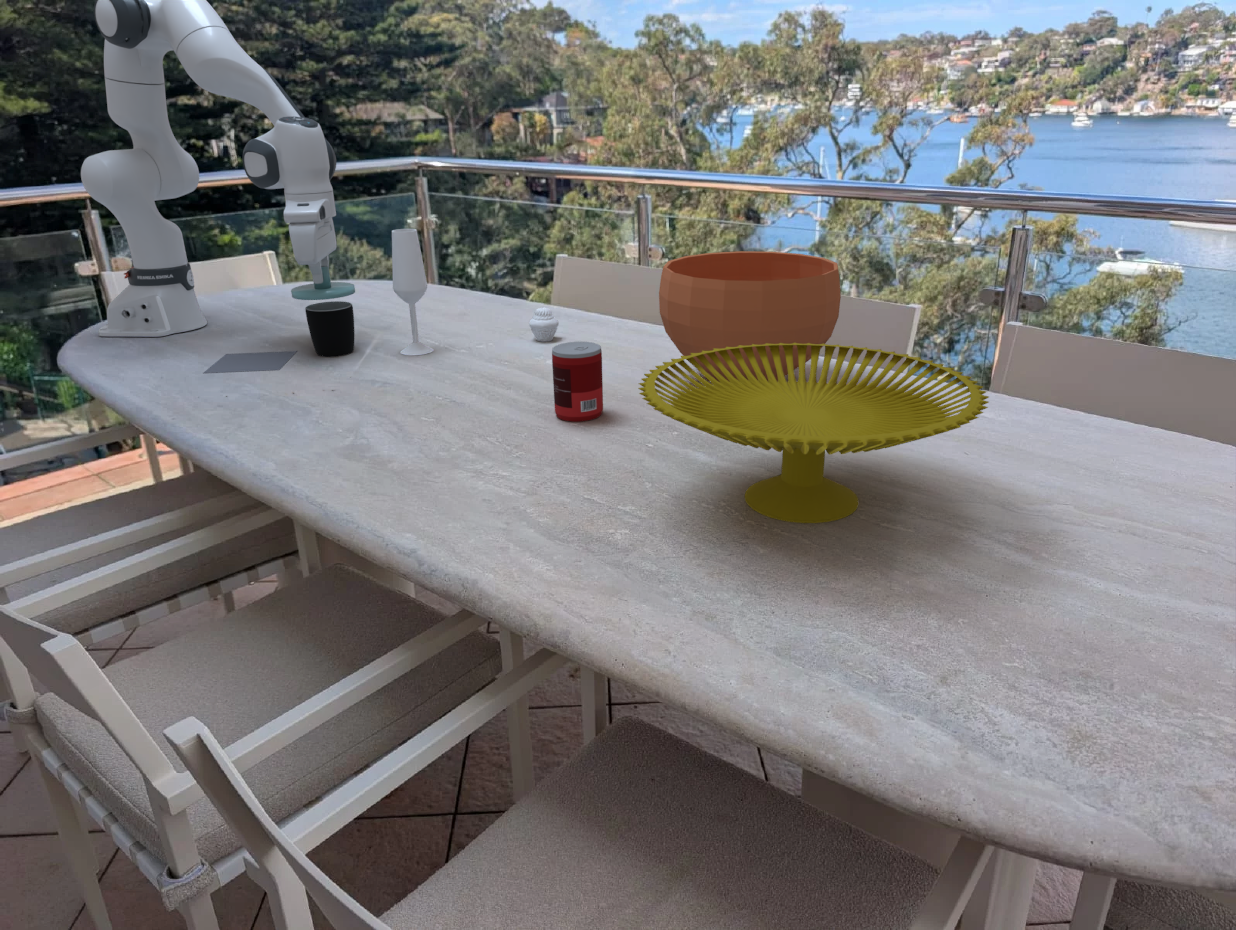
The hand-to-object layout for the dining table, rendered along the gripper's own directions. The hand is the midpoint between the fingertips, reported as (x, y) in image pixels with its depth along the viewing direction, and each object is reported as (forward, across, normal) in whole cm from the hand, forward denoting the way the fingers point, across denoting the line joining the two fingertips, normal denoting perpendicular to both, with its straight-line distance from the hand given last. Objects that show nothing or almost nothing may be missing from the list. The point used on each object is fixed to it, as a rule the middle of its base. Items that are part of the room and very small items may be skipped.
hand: (321, 280), depth 179 cm
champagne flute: (+15, 0, +17) cm, 23 cm away
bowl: (+15, +32, +78) cm, 86 cm away
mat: (+15, +6, -14) cm, 21 cm away
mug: (+15, 0, 0) cm, 15 cm away
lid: (+3, 0, 0) cm, 3 cm away
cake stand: (+15, +82, +74) cm, 111 cm away
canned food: (+15, +45, +48) cm, 67 cm away
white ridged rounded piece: (+15, -5, +43) cm, 46 cm away
